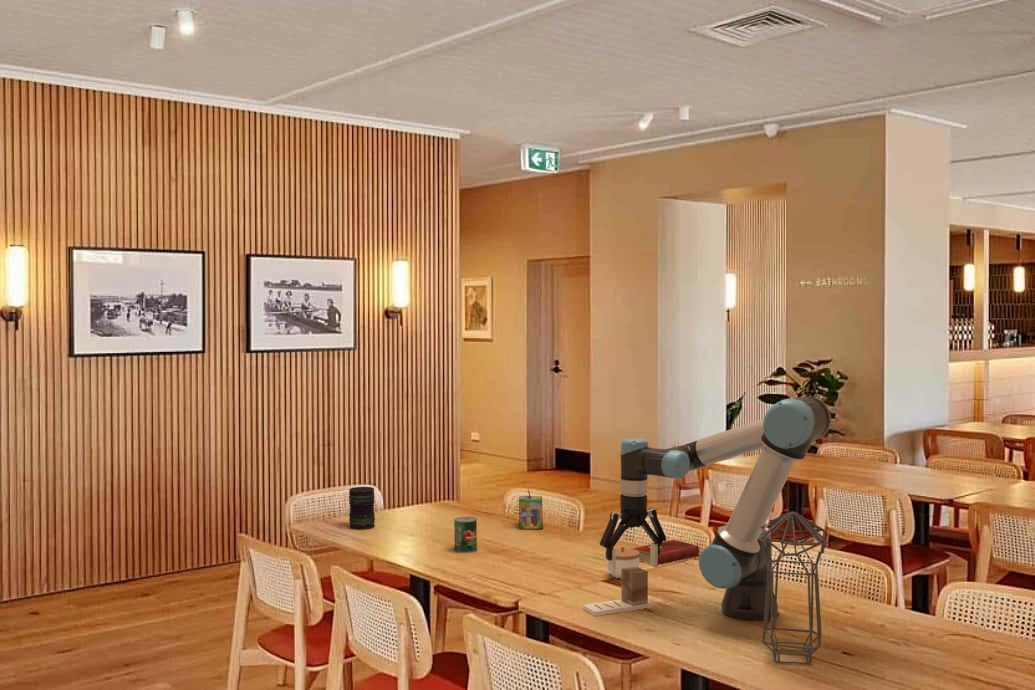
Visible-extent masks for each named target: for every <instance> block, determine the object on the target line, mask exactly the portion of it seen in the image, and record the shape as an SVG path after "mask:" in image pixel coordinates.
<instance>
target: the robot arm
mask: <svg viewBox="0 0 1035 690" xmlns="http://www.w3.org/2000/svg"><path fill="white" fill-rule="evenodd" d="M831 423H832V415H831V411H830V409H829V407H828V405H827V404H826V403H825V402H824V401H823V400H821V399H819V398H817V397H815V396H812V395H811V396H810V395H803V396H799V397H794V398H785V399H781V400H780V401H778V402H776V403H775V404H773V405H772V406H771V407H769V408H768V409H767V411H766V412H765V415H764V417H763V418H761V419H758V420H755V421H754V420H753V421H751V422H748V423H745V424H743V425H739V426H737V427H734V428H731V429H728V430H724V431H722V432H718V433H716V434H712V435H710V436H707V437H703V438H700V439H698V440H693V441H690V442H688V443H685V444H682V445H677V446H674V447H669V448H653V447H649V441H648V440H647V439H644V438H640V437H639V438H636V437H630V438H625V439H623V440H622V441H621V443H620V454H619V456H620V493H621V494H620V497H619V499H620V501H619V502H620V503H619V505H620V506H619V507H620V512H614V511H611V512H610V513H609V514H610V515H609V520H608V523H607V524H606V525H607V526H606V528H605V530H604V532H603V534H602V536H601V539H600V541H599V545H600V546H601V547H603V548H605V553H606V554H605V560H606V559H607V560H608V568H607V570H608V572H609V571H611V572H613V573H615V572H616V548H614V547H615V546H616V545H617V543H618V542H619V540H620V539H621V538H622V536H623V534H624V533H625V532H626V531H627V530H628V529H629V528H630V529H633V528H642V529H643V530H644V532H645V533H646V534H647V536H648V537H649V538H650V539H651V540H652V542H650V544H651V548H650V564H649V565H650V566H651V567H653V568H658V566H659V565H658V555H659V554H660V545H661V544H662V543H663V542H664V541H667V537H666V534H665V532H664V529H663V527H662V525H661V523H660V521H659V518H658V512H657V509H654V508H649V509H648V508H647V507H648V495H647V494H648V476H655V477H656V476H657V477H662V478H663V477H664V478H669V479H683V478H685V477H686V475H687V474H688V473H689V472H690V471H695V470H698V469H700V468H703V467H707V466H710V465H712V464H716V463H719V462H722V461H726V460H729V459H733V458H735V457H739V456H742V455H746V454H749V453H751V452H756V451H758V450H761V451H760V454H759V455H758V458H757V459H756V461H755V464H754V466H753V468H752V471H751V472H750V475H749V477H748V479H747V481H746V483H745V485H744V487H743V490H742V491H741V494H740V495H739V498H738V500H737V502H736V504H735V507H734V508H733V510H732V513H731V515H730V517H729V520H728V522H727V524H726V525H723V526H722V525H721V526H719V528H718V529H717V531H716V533H715V536H714V537H713V540H712V541H711V543H710V544H709V545H707V546H706V547H705V548H704V549H703V550H702V551H701V552H700V554H699V556H698V568H699V570H700V572H701V575H702V577H703V578H704V580H705V581H706V582H707V583H708V584H709V585H711V586H712V587H715V588H718V589H723V590H725V591H724V594H723V595H724V596H723V598H722V601H721V612H722V613H723V614H724V615H726V616H728V617H730V618H731V617H732V618H734V619H741V620H748V621H749V620H750V621H762V620H763V621H764V611H765V598H766V585H767V572H768V571H767V567H766V562H765V558H764V553H763V549H762V547H761V542H760V540H759V538H760V536H762V535H761V534H762V533H763V531H762V528H760V527H762V526H764V525H765V524H767V521H768V519H769V517H770V515H771V513H772V511H773V509H774V506H775V505H776V503H777V500H778V498H779V496H780V494H781V492H782V490H783V488H784V486H785V484H786V482H787V480H788V477H789V475H790V474H791V472H792V469H793V468H794V465H795V463H796V462H799V461H803V460H804V459H805V457H806V455H807V452H808V451H809V449H810V447H811V445H812V442H815V441H817V440H819V439H821V438H823V437H824V436H825V435H826V434H827V433H828V431H829V429H830V428H831ZM648 517H649V521H650V522H651V524H652V527H653V528H654V529H652V528H651V525H650V524H649V523H648V522H647V520H646V519H647V518H648ZM618 521H619V522H618ZM764 527H765V526H764ZM770 534H771V532H770V533H769V534H767V535H766V536H765V537H766V538H767V537H768V536H769V535H770ZM768 539H772V535H771V536H770V537H769V538H768ZM770 542H771V543H772V542H773V541H770ZM766 544H767V548H768V551H769V553H770V556H771V558H773V557H772V553H773V552H772V548H773V546H771V545H770V544H769V543H768V542H766ZM765 553H766V557H767V562H768V563H769V561H771V559H770V556H769V554H768V552H767V549H766V547H765ZM769 569H770V566H769ZM774 601H775V591H773V618H774ZM778 614H779V604H778V603H777V606H776V617H777V616H778ZM768 620H771V588H770V602H769V615H768Z"/></svg>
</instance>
